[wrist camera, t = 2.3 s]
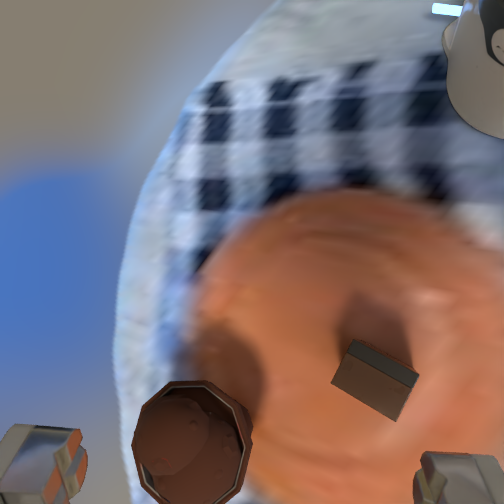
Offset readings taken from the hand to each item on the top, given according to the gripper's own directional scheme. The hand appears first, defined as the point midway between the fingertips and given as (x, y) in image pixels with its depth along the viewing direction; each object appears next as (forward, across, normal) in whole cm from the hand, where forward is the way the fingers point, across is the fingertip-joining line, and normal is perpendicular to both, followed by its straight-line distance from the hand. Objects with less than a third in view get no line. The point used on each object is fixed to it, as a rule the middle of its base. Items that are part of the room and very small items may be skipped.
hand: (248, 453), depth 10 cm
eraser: (+24, -12, +21) cm, 34 cm away
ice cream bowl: (+23, +3, +29) cm, 37 cm away
